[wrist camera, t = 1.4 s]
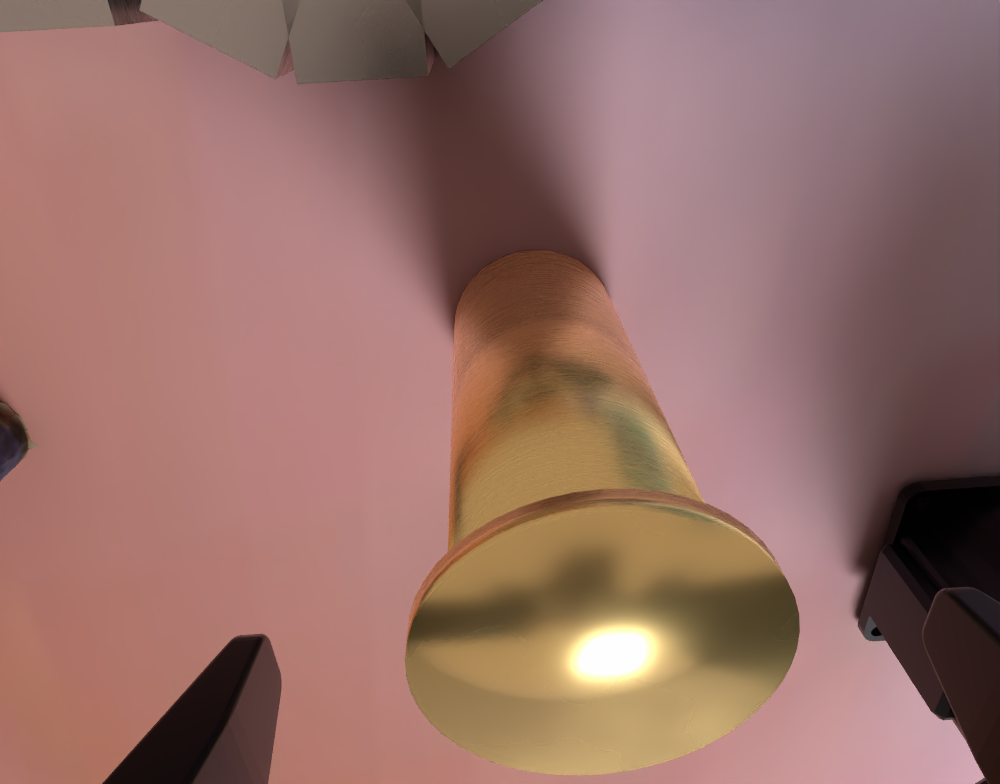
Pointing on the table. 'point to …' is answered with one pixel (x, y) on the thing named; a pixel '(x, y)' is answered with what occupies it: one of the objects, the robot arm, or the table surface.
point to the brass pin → (582, 550)
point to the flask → (12, 440)
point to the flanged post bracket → (299, 30)
